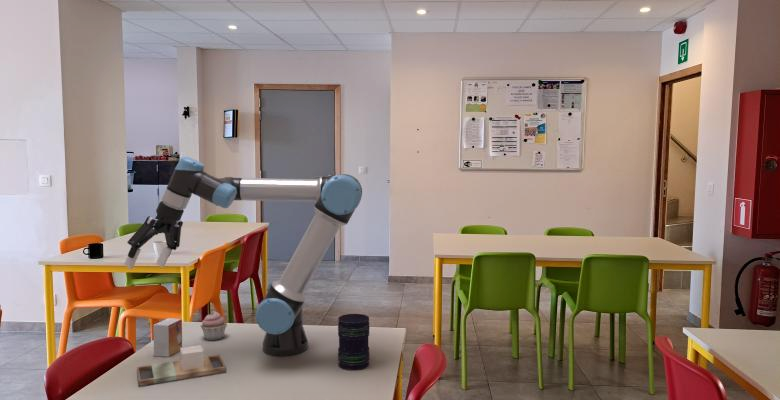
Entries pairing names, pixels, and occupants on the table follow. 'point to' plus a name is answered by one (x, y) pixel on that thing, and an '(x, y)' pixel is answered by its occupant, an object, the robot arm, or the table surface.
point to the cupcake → (213, 326)
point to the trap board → (178, 371)
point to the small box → (167, 337)
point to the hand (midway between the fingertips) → (144, 266)
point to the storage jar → (353, 342)
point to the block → (192, 357)
